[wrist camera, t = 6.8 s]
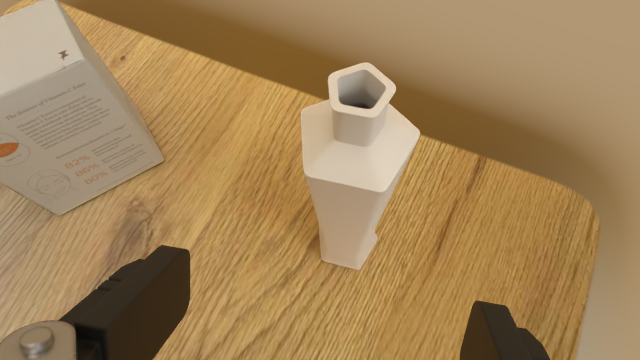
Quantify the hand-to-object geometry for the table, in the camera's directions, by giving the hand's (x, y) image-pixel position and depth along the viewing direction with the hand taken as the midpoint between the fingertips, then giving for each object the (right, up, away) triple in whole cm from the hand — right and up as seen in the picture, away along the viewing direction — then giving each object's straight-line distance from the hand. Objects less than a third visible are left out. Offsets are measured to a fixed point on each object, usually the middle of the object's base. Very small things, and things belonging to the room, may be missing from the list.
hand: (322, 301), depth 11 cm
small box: (-16, +5, +18) cm, 24 cm away
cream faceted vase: (+2, -1, +15) cm, 15 cm away
